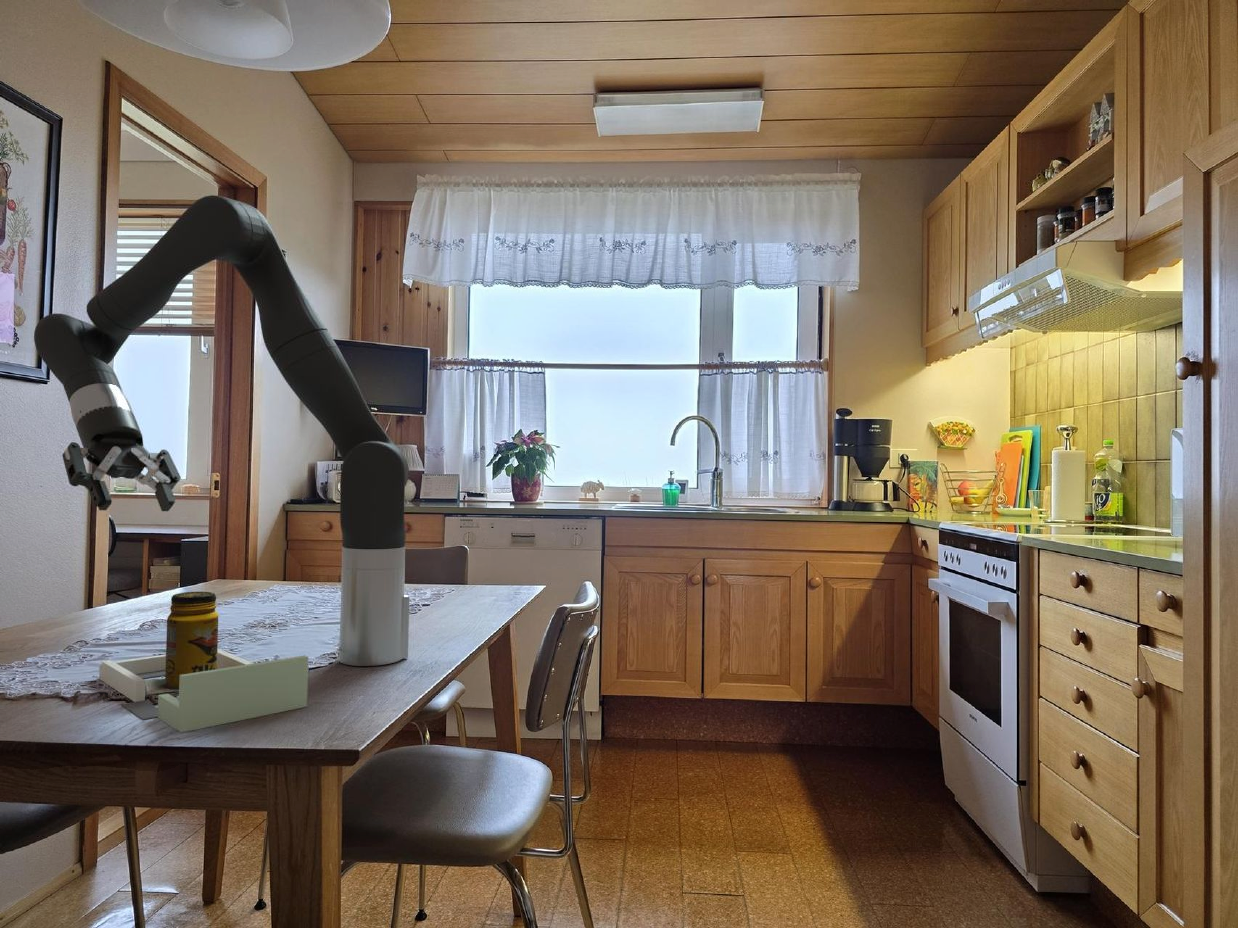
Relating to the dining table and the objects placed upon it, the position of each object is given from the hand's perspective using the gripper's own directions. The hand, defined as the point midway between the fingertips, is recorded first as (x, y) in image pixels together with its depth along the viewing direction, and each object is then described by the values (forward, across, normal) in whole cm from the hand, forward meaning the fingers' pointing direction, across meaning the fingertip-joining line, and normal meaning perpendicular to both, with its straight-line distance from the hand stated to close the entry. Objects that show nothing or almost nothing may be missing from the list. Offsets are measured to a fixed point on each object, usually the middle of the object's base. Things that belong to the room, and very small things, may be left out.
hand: (138, 507), depth 110 cm
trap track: (+29, -1, +1) cm, 29 cm away
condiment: (+26, 0, +5) cm, 26 cm away
